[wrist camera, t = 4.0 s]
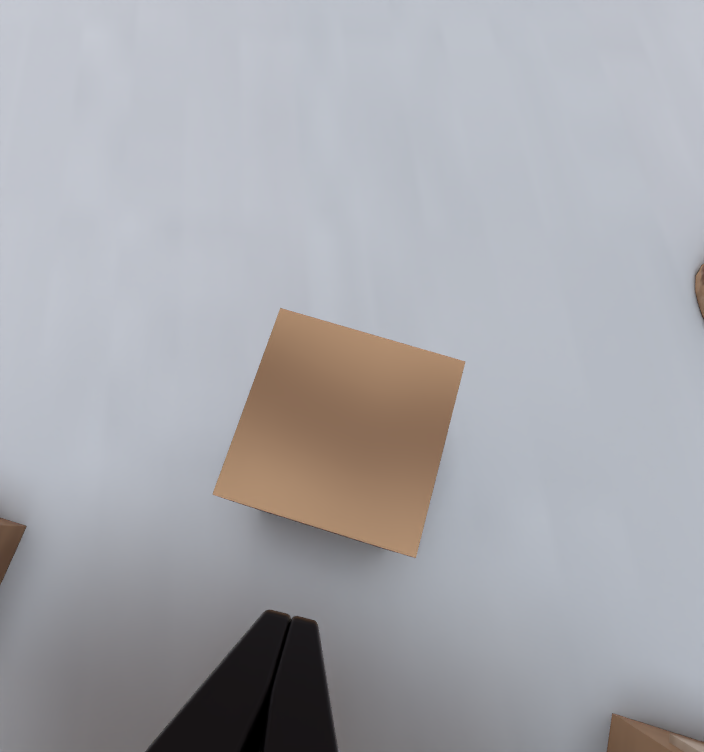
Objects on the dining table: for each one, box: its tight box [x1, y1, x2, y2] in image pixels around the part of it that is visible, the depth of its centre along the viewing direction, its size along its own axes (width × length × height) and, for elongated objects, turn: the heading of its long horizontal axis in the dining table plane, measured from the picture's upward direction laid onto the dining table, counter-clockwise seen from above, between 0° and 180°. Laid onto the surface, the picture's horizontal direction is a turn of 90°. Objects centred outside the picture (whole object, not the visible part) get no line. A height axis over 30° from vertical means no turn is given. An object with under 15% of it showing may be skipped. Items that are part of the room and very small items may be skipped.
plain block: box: [213, 308, 465, 558], centre depth 17 cm, size 5×5×8 cm
